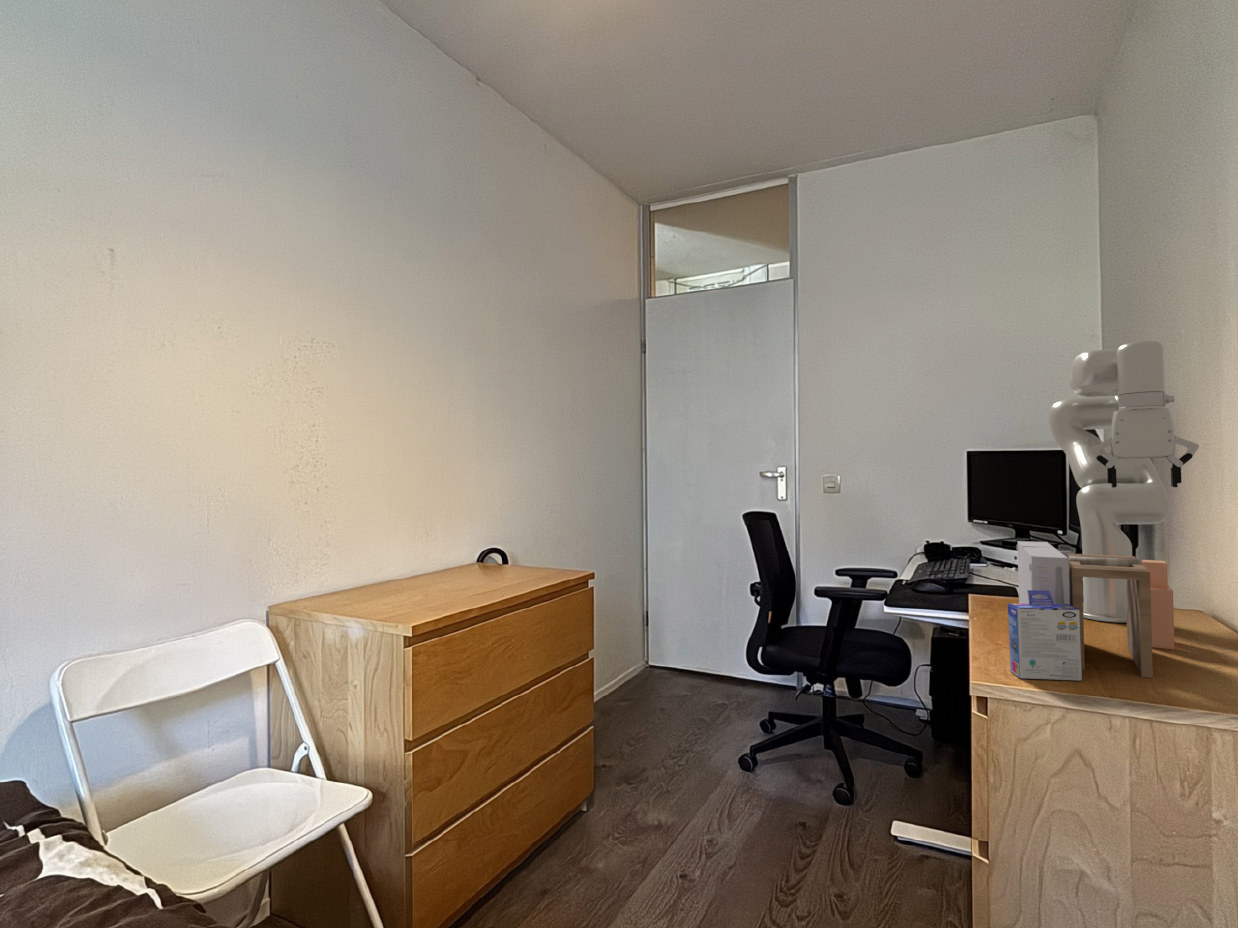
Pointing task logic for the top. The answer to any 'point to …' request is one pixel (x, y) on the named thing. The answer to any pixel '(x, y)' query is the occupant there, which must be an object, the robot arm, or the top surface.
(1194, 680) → the top surface
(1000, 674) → the top surface
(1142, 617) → the wooden rack
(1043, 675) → the ink cartridge box
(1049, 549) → the game console
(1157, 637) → the salmon stepped block
